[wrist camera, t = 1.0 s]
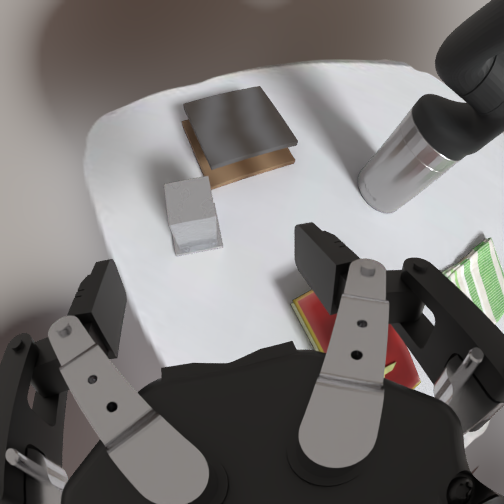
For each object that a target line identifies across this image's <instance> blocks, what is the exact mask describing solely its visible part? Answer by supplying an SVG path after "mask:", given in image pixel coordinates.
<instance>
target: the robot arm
mask: <svg viewBox="0 0 504 504" xmlns="http://www.w3.org/2000/svg"><path fill="white" fill-rule="evenodd" d="M435 68H436V71H437V74H438V76H439V77H440V78H441V79H442V81H444V83H445V84H446V85H447V86H448V87H449V88H451V89H452V90H453V91H454V92H455V93H456V94H458V95H459V96H460V97H461V98H462V99H463V100H464V101H466V102H467V103H461V102H455V101H452V100H449V99H446V98H443V97H441V96H438V95H434V94H426V95H424V96H422V97H421V98H420V99H419V100H418V101H417V102H416V104H415V105H414V106H413V107H412V109H411V110H410V111H409V112H408V114H407V115H406V116H405V118H404V119H403V120H402V122H401V123H400V124H399V125H398V127H397V128H396V129H395V130H394V132H393V133H392V134H391V135H390V136H389V138H388V139H387V140H386V141H385V143H384V144H383V145H382V146H381V148H380V149H379V150H378V151H377V152H376V154H375V155H374V156H373V157H372V158H371V160H370V161H369V162H368V163H367V165H366V166H365V167H364V168H363V169H362V171H361V172H360V174H359V176H358V186H359V190H360V192H361V194H362V196H363V198H364V199H365V201H366V202H367V203H368V204H369V205H370V206H372V207H373V208H374V209H376V210H378V211H380V212H383V213H393V212H395V211H397V210H398V209H399V208H401V207H402V206H403V205H405V204H406V203H407V202H409V201H410V200H411V199H413V198H414V197H415V196H416V195H418V194H419V193H420V192H422V191H423V190H424V189H425V188H427V187H428V186H429V185H430V184H432V183H433V182H434V181H435V180H437V179H438V178H439V177H440V176H442V175H443V174H444V173H445V172H447V171H448V170H449V169H450V168H451V167H453V166H454V165H455V164H456V163H457V162H459V161H460V160H461V159H462V158H464V157H465V156H466V155H470V154H473V153H475V152H477V151H478V150H480V149H481V148H482V147H484V146H485V145H486V144H487V143H489V142H490V141H491V140H493V139H494V138H495V137H497V136H498V135H500V134H501V133H502V132H503V131H504V0H491V1H490V2H489V3H487V4H486V5H485V6H484V7H482V8H481V9H480V10H478V11H477V12H476V13H475V14H473V15H472V16H471V17H469V18H468V19H467V20H466V21H464V22H463V23H462V24H461V25H460V26H459V27H457V28H456V29H455V30H454V31H453V32H452V33H451V34H450V35H449V36H448V37H447V38H446V40H445V41H444V42H443V44H442V45H441V47H440V49H439V51H438V53H437V55H436V60H435ZM295 262H296V266H297V268H298V270H299V271H300V273H301V274H302V276H303V277H304V279H305V280H306V281H307V283H308V284H309V286H310V287H311V289H312V290H313V291H314V293H315V294H316V296H317V297H318V299H319V300H320V301H321V303H322V304H323V306H324V307H325V309H326V310H327V312H328V313H329V315H334V314H337V317H336V321H335V324H334V328H333V332H332V335H331V339H330V342H329V346H328V349H327V353H324V352H319V351H314V350H297V349H296V347H295V345H294V343H293V341H290V342H286V343H282V344H279V345H275V346H271V347H267V348H263V349H260V350H257V351H255V352H253V353H251V354H249V355H247V356H244V357H242V358H240V359H238V360H235V361H233V362H231V363H190V364H184V365H177V366H171V367H164V368H161V372H162V378H160V379H158V380H156V381H154V382H152V383H150V384H148V385H147V386H145V387H144V388H143V389H141V390H140V391H139V392H138V393H137V392H136V391H135V390H134V389H133V387H132V386H131V385H130V384H129V383H128V382H127V380H126V379H125V378H124V377H123V376H122V375H121V373H120V372H119V371H118V370H117V369H116V367H115V366H114V365H113V364H112V362H111V361H110V360H109V359H114V358H117V357H118V350H119V342H120V336H121V329H122V324H123V318H124V313H125V307H126V302H127V299H126V292H125V289H124V286H123V283H122V281H121V278H120V275H119V273H118V270H117V267H116V264H115V262H114V260H113V259H109V260H104V261H100V262H96V263H95V266H94V268H93V270H92V273H91V275H88V276H87V277H86V278H85V279H84V280H83V281H82V282H81V284H80V286H79V288H78V292H77V293H76V295H75V298H74V300H73V302H72V305H71V307H70V310H69V312H68V315H67V316H65V317H63V318H60V319H59V320H57V321H56V322H55V323H54V324H53V325H52V326H51V328H50V330H49V333H48V337H47V338H45V339H42V340H39V341H37V342H34V340H33V339H32V337H31V336H30V335H29V334H27V333H22V334H19V335H17V336H16V337H14V338H13V339H12V340H11V341H10V343H9V344H8V346H7V348H6V351H5V353H4V356H3V359H2V362H1V364H0V504H504V496H503V495H501V494H499V493H497V492H495V491H493V490H491V489H489V488H488V487H486V486H485V485H483V484H482V483H481V482H479V481H478V480H477V479H476V478H475V477H474V476H473V474H472V473H471V471H470V469H469V466H468V463H467V459H466V455H465V449H464V438H463V435H464V434H466V433H467V432H468V431H469V432H473V431H477V430H478V429H480V428H481V427H482V426H483V425H484V424H485V423H486V422H488V421H489V420H490V419H491V418H492V417H493V416H494V415H495V414H496V413H497V412H498V411H499V410H500V409H501V408H502V407H503V406H504V334H503V333H502V332H501V331H500V330H499V328H498V327H497V326H496V325H495V324H494V323H493V322H492V321H491V320H490V319H489V318H488V317H487V316H486V315H485V314H484V313H483V312H482V311H481V310H480V309H479V308H478V306H477V305H476V304H474V303H473V302H472V301H471V300H470V299H469V298H468V297H467V296H466V295H465V294H464V293H463V292H462V291H461V290H460V289H459V288H458V287H457V286H456V285H455V284H454V283H453V282H451V281H450V280H449V279H448V278H447V277H446V276H445V275H444V274H443V273H441V272H440V271H439V270H438V269H437V268H436V267H435V266H433V265H432V264H431V263H430V262H428V261H426V260H424V259H421V258H408V259H406V260H405V261H404V264H403V268H402V270H386V269H385V267H384V266H383V265H382V264H381V263H379V262H378V261H375V260H372V259H360V258H359V257H358V256H357V255H356V254H355V253H354V252H353V251H351V250H350V249H349V248H348V247H347V246H346V245H345V244H344V243H343V242H341V241H340V240H339V239H338V238H337V237H336V236H335V235H333V234H331V233H329V232H326V231H322V230H321V229H319V228H318V227H317V226H316V225H315V224H314V223H313V222H311V223H305V224H299V225H296V226H295ZM425 305H426V306H427V307H428V308H429V309H430V310H431V311H432V313H433V314H434V317H435V326H433V324H432V323H431V322H430V321H429V320H428V319H427V317H426V316H425V315H424V314H423V313H422V311H423V308H424V306H425ZM388 324H391V325H392V327H393V328H394V329H395V331H396V332H397V333H398V335H399V336H400V337H401V339H402V340H403V342H404V343H405V344H406V346H407V347H408V348H409V350H410V351H411V353H412V354H413V355H414V357H415V358H416V360H417V361H418V363H419V364H420V365H421V367H422V368H423V370H424V371H425V373H426V374H427V376H428V377H429V378H430V380H431V381H432V383H433V384H434V389H433V391H434V396H435V397H432V396H429V395H427V394H424V393H421V392H419V391H416V390H413V389H411V388H408V387H406V386H403V385H401V384H398V383H396V382H393V381H391V380H388V379H386V378H384V371H385V361H386V351H387V338H388ZM30 385H31V386H33V388H34V389H35V390H36V393H35V398H34V403H33V408H32V409H31V408H30V406H29V404H28V400H27V395H28V390H29V386H30ZM68 390H70V391H71V393H72V394H73V396H74V398H75V400H76V402H77V403H78V405H79V407H80V408H81V410H82V412H83V413H84V415H85V417H86V418H87V420H88V421H89V423H90V424H91V426H92V427H93V429H94V431H95V432H96V433H97V435H98V436H99V438H100V440H99V442H98V443H97V444H96V445H95V447H94V448H93V449H92V450H91V452H90V453H89V454H88V456H87V457H86V458H85V459H84V461H83V462H82V463H81V464H80V466H79V467H78V468H77V470H76V471H75V472H74V473H73V475H72V476H71V477H70V479H69V480H68V478H67V475H66V473H65V471H64V470H63V468H62V446H63V429H64V417H65V408H66V400H67V392H68Z"/></svg>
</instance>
